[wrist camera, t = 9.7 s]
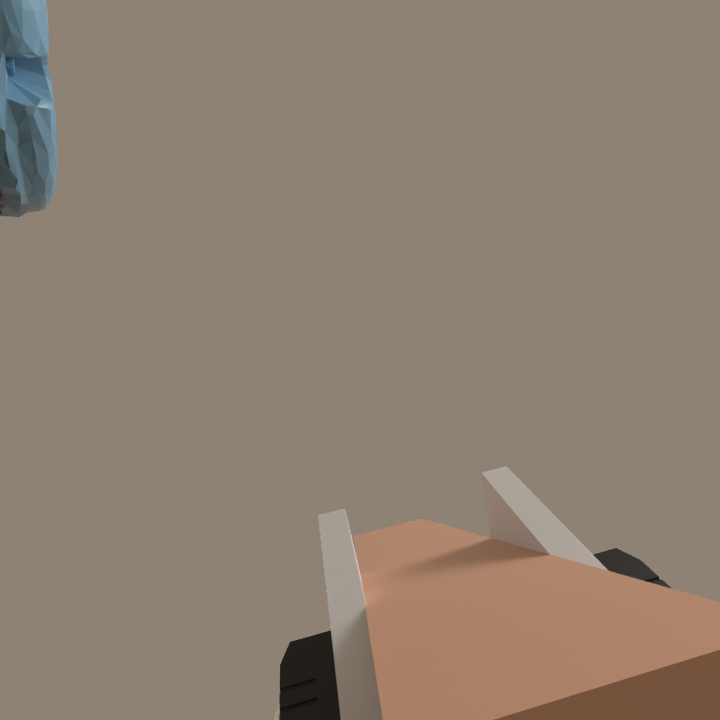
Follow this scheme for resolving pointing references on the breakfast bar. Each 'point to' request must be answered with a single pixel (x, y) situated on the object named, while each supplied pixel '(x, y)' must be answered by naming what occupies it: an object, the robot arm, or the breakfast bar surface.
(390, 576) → the bar
